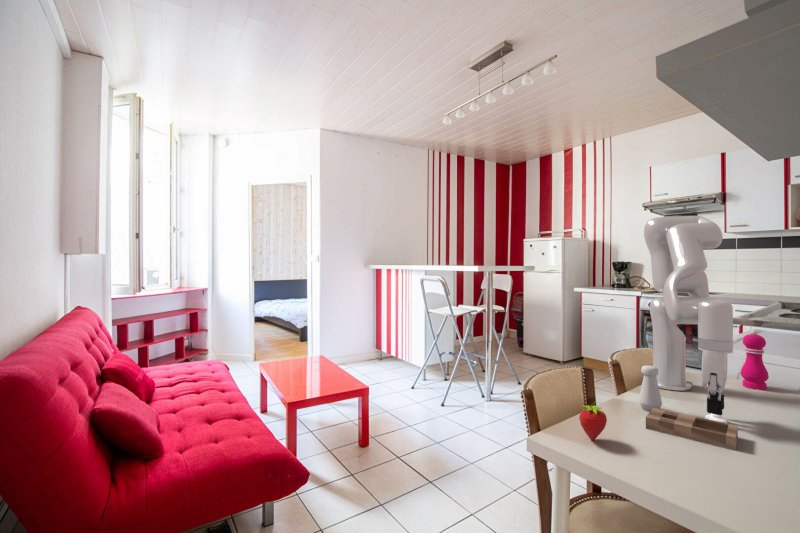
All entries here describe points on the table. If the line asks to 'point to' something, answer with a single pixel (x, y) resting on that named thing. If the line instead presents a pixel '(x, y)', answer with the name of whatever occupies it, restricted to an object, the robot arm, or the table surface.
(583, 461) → the table surface
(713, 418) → the chess piece
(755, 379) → the pepper mill
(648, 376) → the salt shaker
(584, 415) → the strawberry
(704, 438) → the socket plate
